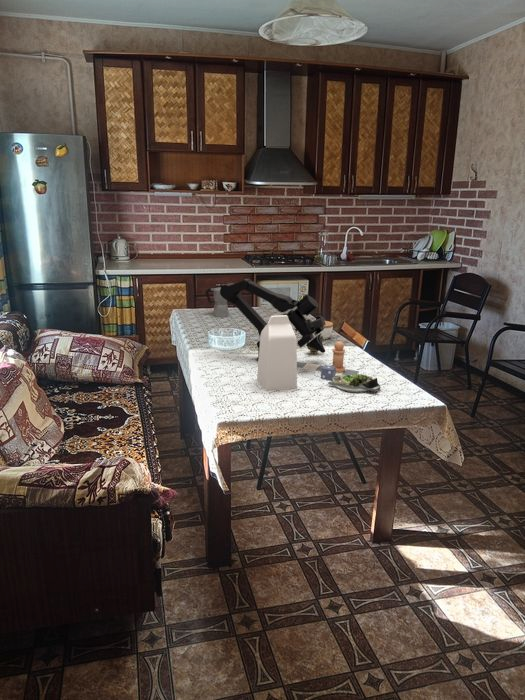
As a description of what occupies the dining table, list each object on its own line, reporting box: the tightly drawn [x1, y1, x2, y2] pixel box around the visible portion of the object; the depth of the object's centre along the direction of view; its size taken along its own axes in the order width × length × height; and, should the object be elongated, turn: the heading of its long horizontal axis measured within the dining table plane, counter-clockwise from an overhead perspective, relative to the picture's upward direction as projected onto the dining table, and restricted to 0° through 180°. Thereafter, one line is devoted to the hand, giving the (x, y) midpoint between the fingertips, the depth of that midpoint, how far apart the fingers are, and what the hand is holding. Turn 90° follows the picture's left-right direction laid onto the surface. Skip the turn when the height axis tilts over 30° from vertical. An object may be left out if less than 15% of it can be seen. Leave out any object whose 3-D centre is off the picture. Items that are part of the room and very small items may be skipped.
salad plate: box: [327, 373, 381, 393], centre depth 201 cm, size 19×18×5 cm
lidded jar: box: [318, 320, 334, 340], centre depth 263 cm, size 11×11×9 cm
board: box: [297, 361, 360, 375], centre depth 219 cm, size 28×7×1 cm, turn 68°
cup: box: [306, 336, 324, 356], centre depth 238 cm, size 8×7×8 cm
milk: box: [256, 314, 298, 391], centre depth 197 cm, size 12×12×26 cm
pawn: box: [330, 340, 346, 373], centre depth 215 cm, size 6×6×12 cm
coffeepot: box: [204, 283, 230, 318], centre depth 302 cm, size 15×9×18 cm, turn 103°
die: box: [320, 364, 337, 381], centre depth 208 cm, size 4×5×5 cm
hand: (324, 352), depth 217 cm, fingers closed
